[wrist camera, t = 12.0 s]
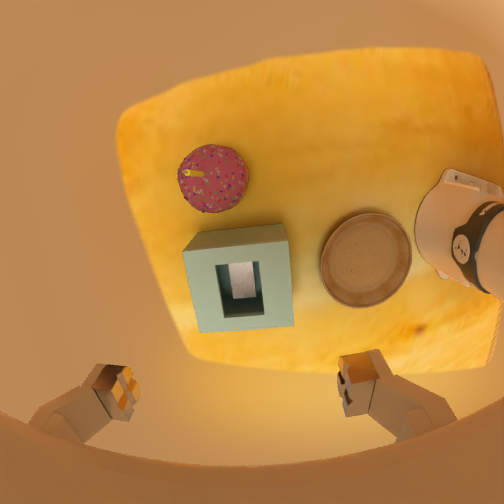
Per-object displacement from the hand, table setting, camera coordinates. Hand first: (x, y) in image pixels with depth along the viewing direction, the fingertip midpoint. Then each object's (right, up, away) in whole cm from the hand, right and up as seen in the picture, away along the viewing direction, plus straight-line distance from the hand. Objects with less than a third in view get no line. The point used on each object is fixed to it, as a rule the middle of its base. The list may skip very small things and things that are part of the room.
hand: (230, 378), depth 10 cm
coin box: (0, +3, +32) cm, 32 cm away
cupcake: (-4, +15, +28) cm, 32 cm away
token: (0, +3, +31) cm, 31 cm away
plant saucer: (+18, +4, +31) cm, 36 cm away
